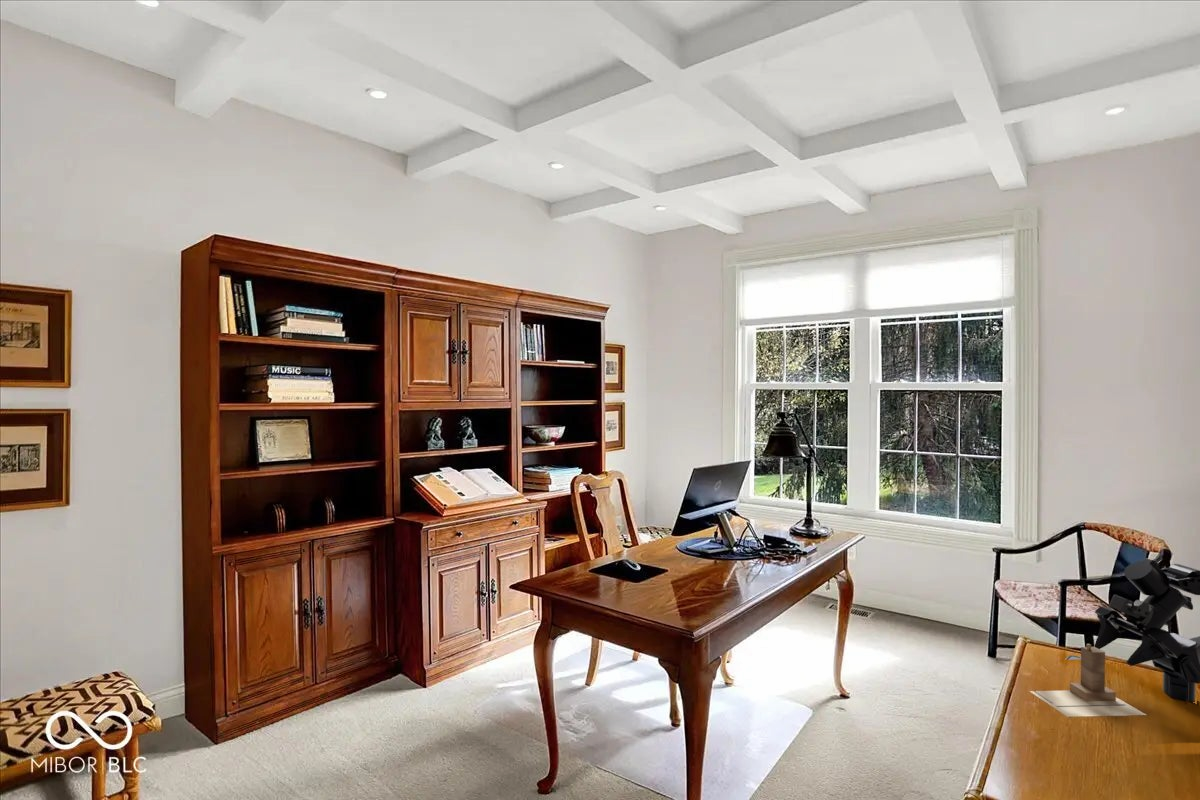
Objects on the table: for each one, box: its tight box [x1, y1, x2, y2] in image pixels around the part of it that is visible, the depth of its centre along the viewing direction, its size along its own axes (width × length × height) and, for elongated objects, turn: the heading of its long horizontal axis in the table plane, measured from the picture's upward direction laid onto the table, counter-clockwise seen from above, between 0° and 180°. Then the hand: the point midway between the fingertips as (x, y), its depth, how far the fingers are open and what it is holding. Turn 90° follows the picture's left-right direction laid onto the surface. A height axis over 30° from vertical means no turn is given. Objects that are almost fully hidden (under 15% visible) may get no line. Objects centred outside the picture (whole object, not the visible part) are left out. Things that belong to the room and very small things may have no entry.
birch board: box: [1029, 689, 1147, 718], centre depth 149 cm, size 18×12×2 cm, turn 92°
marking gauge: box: [1069, 643, 1117, 701], centre depth 152 cm, size 7×5×12 cm
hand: (1111, 655), depth 152 cm, fingers open, 9 cm apart
